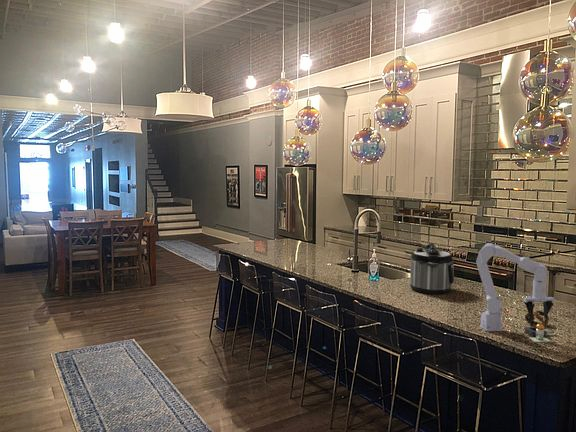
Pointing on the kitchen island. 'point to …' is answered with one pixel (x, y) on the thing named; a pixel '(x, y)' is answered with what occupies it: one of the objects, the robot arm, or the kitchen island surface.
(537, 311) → the brown looped band
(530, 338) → the mat
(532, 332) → the grey square with handle
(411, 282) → the pressure cooker
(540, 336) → the metal cylinder
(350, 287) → the kitchen island surface
